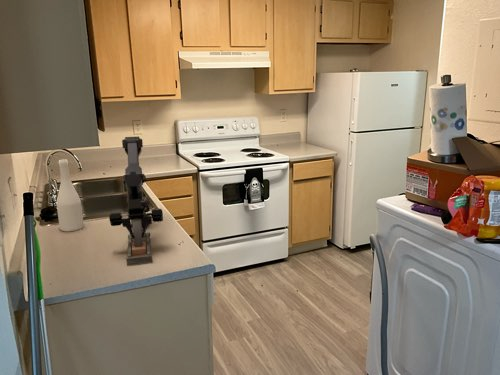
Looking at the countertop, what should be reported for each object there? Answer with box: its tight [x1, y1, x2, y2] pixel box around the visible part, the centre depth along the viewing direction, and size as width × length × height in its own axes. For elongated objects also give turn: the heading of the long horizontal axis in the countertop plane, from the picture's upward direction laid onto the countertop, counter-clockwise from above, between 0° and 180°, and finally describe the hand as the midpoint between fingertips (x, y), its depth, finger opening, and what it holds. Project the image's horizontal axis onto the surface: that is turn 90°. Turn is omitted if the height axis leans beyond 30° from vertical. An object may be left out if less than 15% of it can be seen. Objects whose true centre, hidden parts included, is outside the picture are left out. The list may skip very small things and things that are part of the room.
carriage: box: [131, 219, 146, 255], centre depth 147 cm, size 7×5×12 cm
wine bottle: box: [56, 158, 85, 232], centre depth 172 cm, size 10×10×30 cm
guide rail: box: [125, 231, 153, 266], centre depth 151 cm, size 23×8×3 cm, turn 15°
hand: (138, 238), depth 146 cm, fingers closed on carriage, 3 cm apart
